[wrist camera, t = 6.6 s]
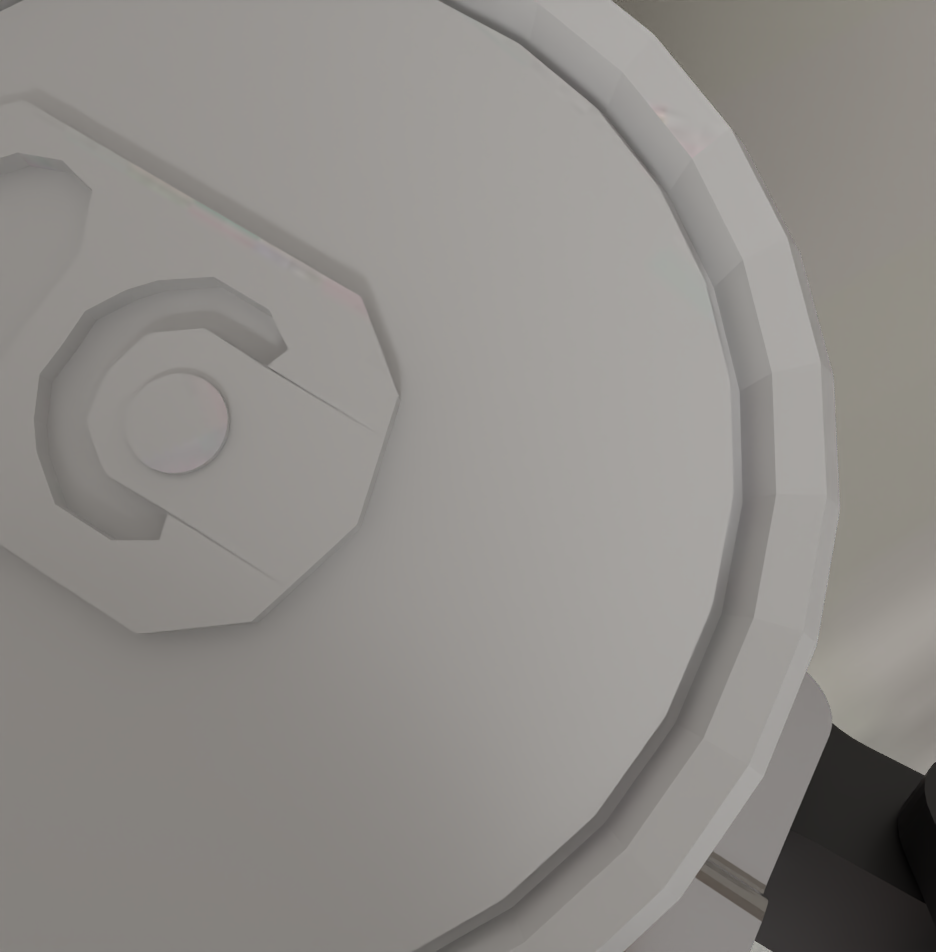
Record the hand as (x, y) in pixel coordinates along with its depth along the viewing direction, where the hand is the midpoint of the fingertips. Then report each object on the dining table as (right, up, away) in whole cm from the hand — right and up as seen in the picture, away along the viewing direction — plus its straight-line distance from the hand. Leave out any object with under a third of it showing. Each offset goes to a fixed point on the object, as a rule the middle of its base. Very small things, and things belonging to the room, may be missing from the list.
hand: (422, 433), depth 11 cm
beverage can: (0, -3, +7) cm, 8 cm away
